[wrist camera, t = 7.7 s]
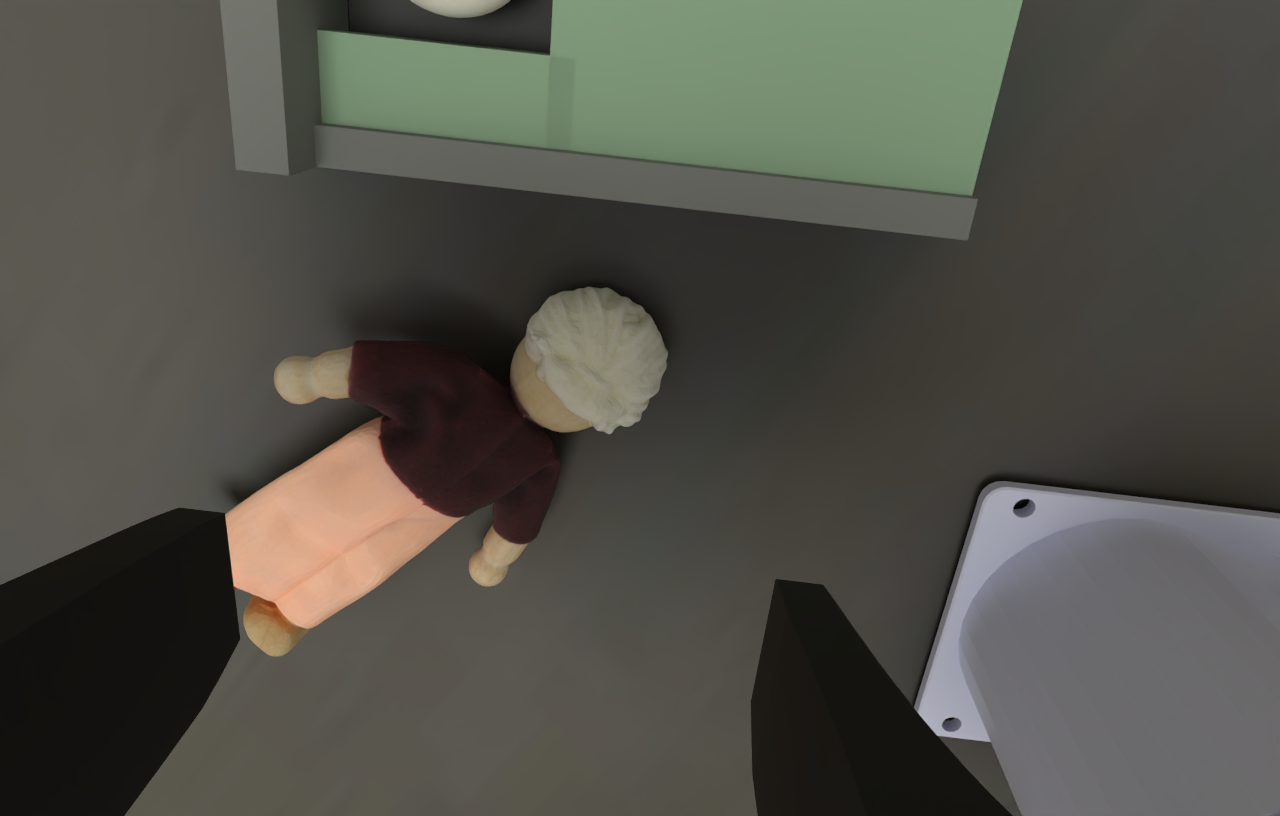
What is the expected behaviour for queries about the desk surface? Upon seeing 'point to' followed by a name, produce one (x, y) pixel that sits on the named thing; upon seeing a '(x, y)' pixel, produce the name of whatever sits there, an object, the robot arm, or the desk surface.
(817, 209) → the green walled tray
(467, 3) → the ball
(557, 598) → the desk surface
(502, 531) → the grandmother figurine
